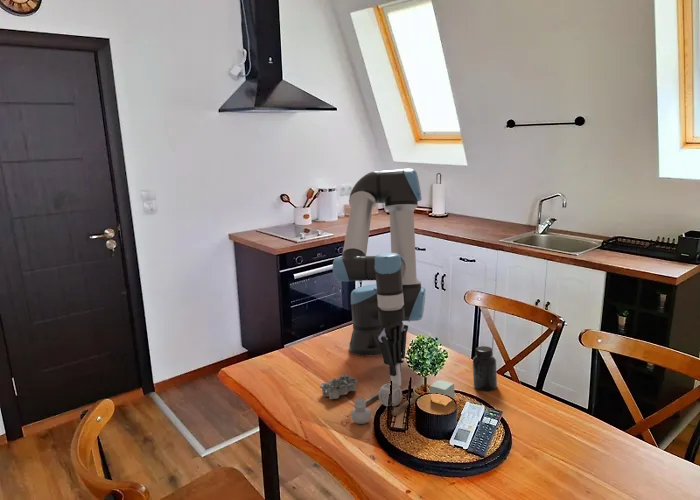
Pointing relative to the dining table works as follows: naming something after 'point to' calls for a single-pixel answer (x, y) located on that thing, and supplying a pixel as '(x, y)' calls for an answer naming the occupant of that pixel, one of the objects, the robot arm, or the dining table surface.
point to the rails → (395, 411)
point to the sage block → (443, 388)
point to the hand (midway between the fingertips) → (396, 384)
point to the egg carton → (339, 386)
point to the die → (385, 393)
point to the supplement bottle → (484, 369)
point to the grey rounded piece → (360, 412)
